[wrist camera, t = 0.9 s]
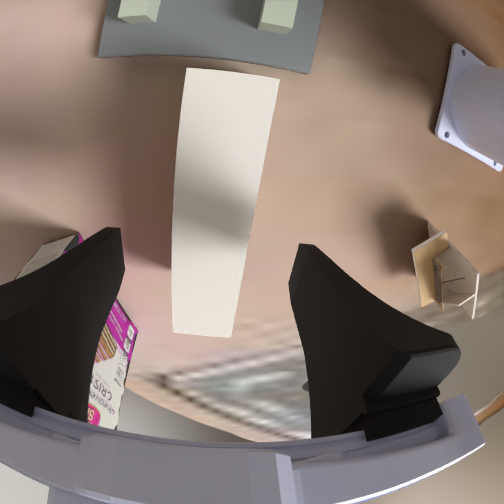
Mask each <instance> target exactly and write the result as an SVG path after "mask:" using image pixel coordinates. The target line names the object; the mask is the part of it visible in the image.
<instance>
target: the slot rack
mask: <svg viewBox="0 0 504 504" xmlns="http://www.w3.org/2000/svg"><path fill="white" fill-rule="evenodd" d="M324 1H325V0H109V2H108V6H107V10H106V15H105V19H104V24H103V29H102V34H101V40H100V46H99V52H98V58H115V57H132V56H181V57H199V58H211V59H221V60H230V61H238V62H245V63H251V64H257V65H263V66H269V67H274V68H279V69H284V70H289V71H293V72H297V73H302V74H310V70H311V66H312V61H313V56H314V51H315V46H316V41H317V36H318V31H319V26H320V21H321V16H322V11H323V6H324Z"/></svg>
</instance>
